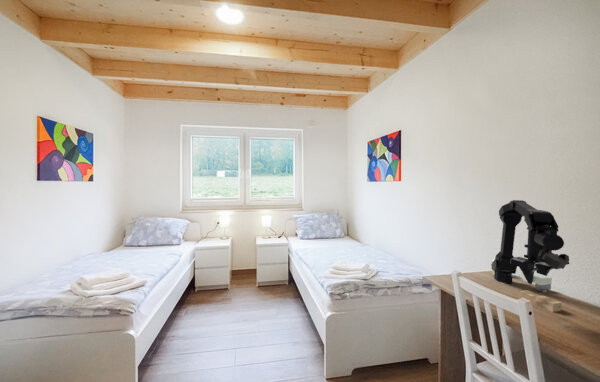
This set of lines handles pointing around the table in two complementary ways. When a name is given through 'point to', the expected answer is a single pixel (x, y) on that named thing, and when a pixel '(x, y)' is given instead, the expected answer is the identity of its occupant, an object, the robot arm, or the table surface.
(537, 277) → the cover
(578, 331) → the table surface
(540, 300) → the lock board
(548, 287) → the grey stone
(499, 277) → the robot arm
